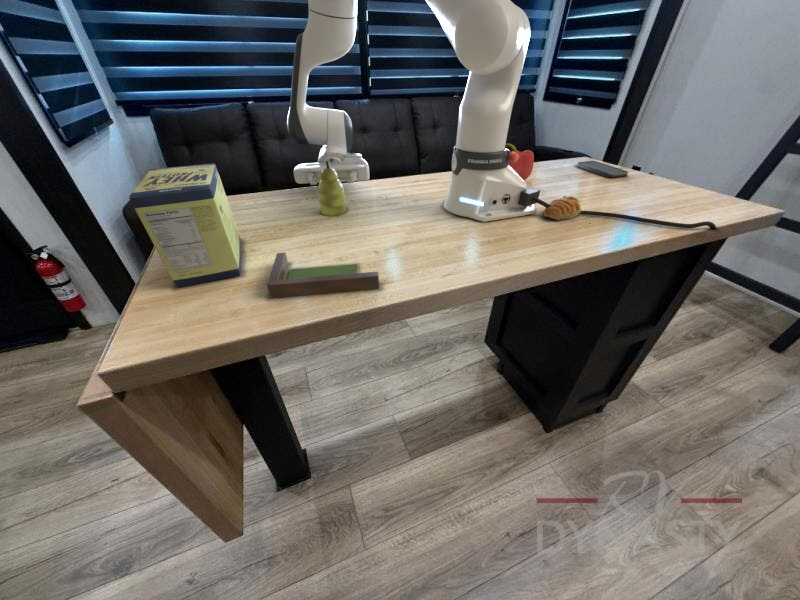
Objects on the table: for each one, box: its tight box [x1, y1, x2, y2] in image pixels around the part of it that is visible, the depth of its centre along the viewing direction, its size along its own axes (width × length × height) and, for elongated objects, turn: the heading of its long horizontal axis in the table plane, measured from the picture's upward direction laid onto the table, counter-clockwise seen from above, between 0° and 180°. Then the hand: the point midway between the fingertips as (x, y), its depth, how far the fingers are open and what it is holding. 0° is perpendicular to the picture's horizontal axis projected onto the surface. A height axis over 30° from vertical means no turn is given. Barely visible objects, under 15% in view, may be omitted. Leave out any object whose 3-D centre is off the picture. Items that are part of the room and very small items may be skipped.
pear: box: [317, 161, 347, 217], centre depth 76 cm, size 6×6×12 cm
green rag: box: [286, 264, 358, 279], centre depth 56 cm, size 12×7×1 cm, turn 99°
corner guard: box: [266, 252, 380, 299], centre depth 55 cm, size 18×10×2 cm, turn 99°
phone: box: [576, 160, 629, 179], centre depth 107 cm, size 8×1×15 cm
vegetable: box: [505, 142, 535, 181], centre depth 97 cm, size 11×10×10 cm
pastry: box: [543, 195, 582, 221], centre depth 77 cm, size 9×7×4 cm
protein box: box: [128, 162, 242, 288], centre depth 56 cm, size 10×16×16 cm
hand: (331, 180), depth 82 cm, fingers open, 8 cm apart
